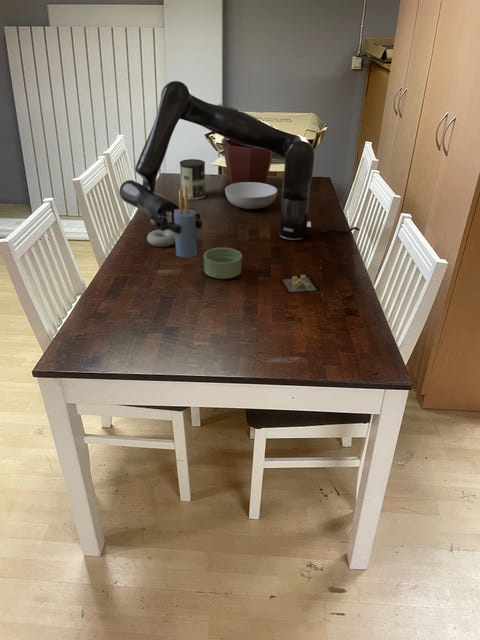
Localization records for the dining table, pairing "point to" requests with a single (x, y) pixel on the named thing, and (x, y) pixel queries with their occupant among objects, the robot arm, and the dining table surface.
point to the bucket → (246, 162)
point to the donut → (161, 238)
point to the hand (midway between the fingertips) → (189, 227)
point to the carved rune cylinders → (298, 284)
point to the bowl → (222, 263)
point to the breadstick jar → (185, 228)
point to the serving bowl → (250, 194)
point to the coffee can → (193, 178)
